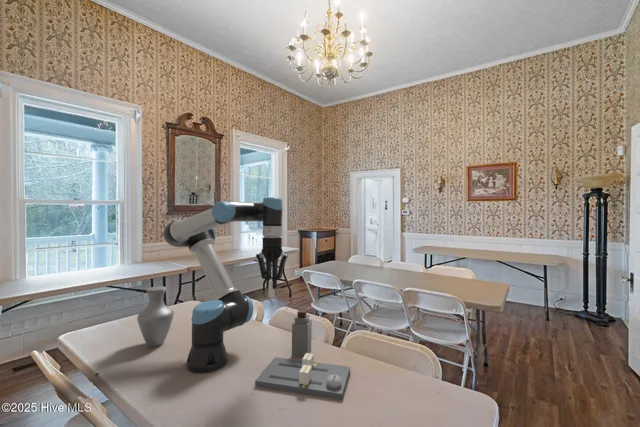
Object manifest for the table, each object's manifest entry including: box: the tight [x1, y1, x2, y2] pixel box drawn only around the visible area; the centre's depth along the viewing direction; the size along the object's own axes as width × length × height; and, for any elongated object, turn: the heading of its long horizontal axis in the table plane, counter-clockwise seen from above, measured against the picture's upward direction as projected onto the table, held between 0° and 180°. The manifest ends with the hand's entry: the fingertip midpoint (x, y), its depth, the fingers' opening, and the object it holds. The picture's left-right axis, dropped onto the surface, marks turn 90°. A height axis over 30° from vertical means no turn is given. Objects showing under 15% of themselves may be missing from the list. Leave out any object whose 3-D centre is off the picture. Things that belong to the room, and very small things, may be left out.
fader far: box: [301, 352, 315, 367], centre depth 114 cm, size 3×5×4 cm, turn 166°
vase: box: [136, 285, 175, 348], centre depth 138 cm, size 14×14×25 cm
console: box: [254, 357, 351, 401], centre depth 110 cm, size 30×18×4 cm, turn 76°
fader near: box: [299, 365, 312, 385], centre depth 105 cm, size 3×5×4 cm, turn 166°
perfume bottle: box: [291, 309, 313, 359], centre depth 130 cm, size 7×7×18 cm
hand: (271, 296), depth 121 cm, fingers closed
